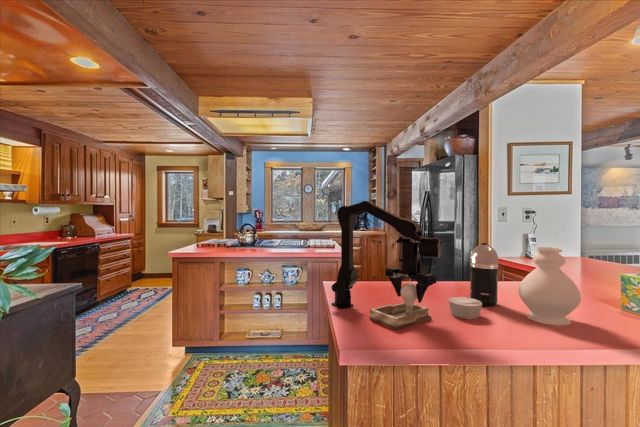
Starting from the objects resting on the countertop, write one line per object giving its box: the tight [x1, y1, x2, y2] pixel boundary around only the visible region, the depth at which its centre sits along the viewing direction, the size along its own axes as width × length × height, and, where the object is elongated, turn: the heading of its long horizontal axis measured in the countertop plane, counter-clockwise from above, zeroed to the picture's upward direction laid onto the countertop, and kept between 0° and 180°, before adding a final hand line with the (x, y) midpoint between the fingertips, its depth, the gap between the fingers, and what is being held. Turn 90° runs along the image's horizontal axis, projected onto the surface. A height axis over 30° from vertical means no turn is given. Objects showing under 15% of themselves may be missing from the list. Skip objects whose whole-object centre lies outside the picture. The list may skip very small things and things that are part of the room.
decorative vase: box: [518, 246, 582, 327], centre depth 113 cm, size 18×18×25 cm
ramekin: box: [448, 296, 483, 320], centre depth 117 cm, size 11×11×5 cm
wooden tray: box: [369, 302, 432, 331], centre depth 113 cm, size 12×18×4 cm, turn 124°
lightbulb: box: [400, 282, 418, 314], centre depth 115 cm, size 6×6×11 cm
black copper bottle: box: [469, 242, 499, 307], centre depth 132 cm, size 10×10×25 cm
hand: (409, 299), depth 115 cm, fingers open, 9 cm apart
